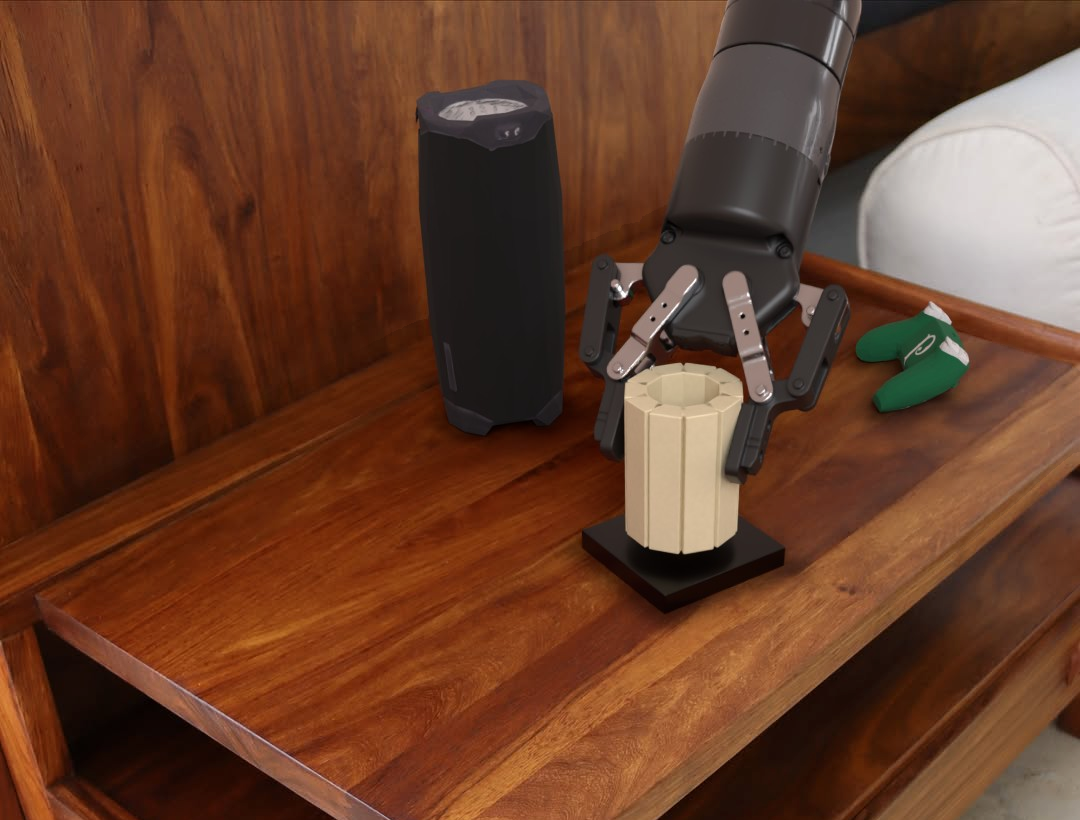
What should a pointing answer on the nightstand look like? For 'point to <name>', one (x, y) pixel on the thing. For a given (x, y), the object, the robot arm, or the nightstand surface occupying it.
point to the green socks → (916, 358)
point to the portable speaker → (493, 252)
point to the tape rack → (682, 563)
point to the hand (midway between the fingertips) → (672, 467)
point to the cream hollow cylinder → (680, 457)
